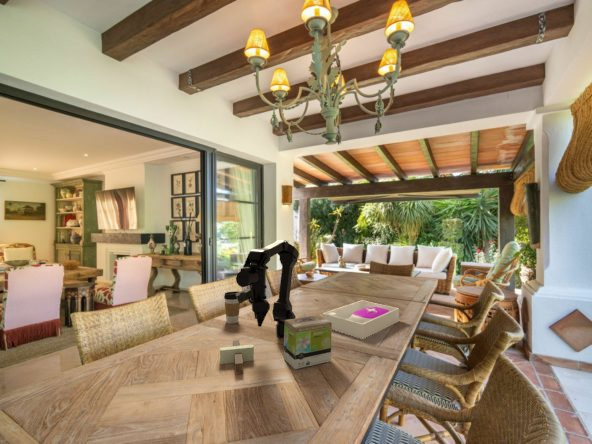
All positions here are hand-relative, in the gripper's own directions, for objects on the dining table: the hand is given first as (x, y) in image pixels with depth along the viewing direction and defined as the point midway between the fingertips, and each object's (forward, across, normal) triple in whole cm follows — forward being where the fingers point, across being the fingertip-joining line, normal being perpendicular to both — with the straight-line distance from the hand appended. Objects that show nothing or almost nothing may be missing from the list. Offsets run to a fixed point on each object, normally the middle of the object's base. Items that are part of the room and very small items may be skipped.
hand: (258, 322), depth 115 cm
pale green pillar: (+12, +4, -8) cm, 15 cm away
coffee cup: (+12, -40, -8) cm, 43 cm away
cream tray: (+13, -21, +55) cm, 61 cm away
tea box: (+12, +10, +17) cm, 23 cm away
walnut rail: (+12, +4, -8) cm, 15 cm away
